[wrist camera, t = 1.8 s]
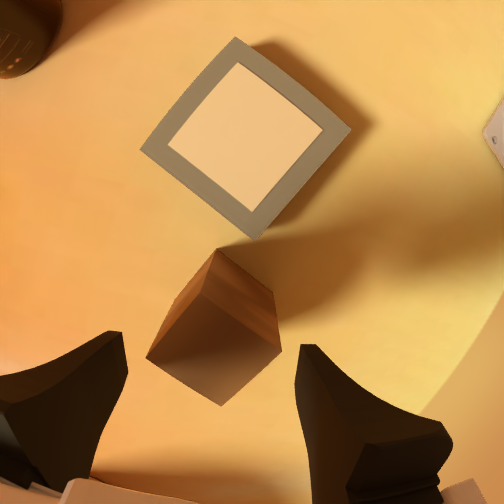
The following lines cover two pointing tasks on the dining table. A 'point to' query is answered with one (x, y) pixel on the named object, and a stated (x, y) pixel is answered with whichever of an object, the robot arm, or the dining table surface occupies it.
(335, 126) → the base tile
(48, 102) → the dining table surface
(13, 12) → the supplement bottle
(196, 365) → the walnut block
